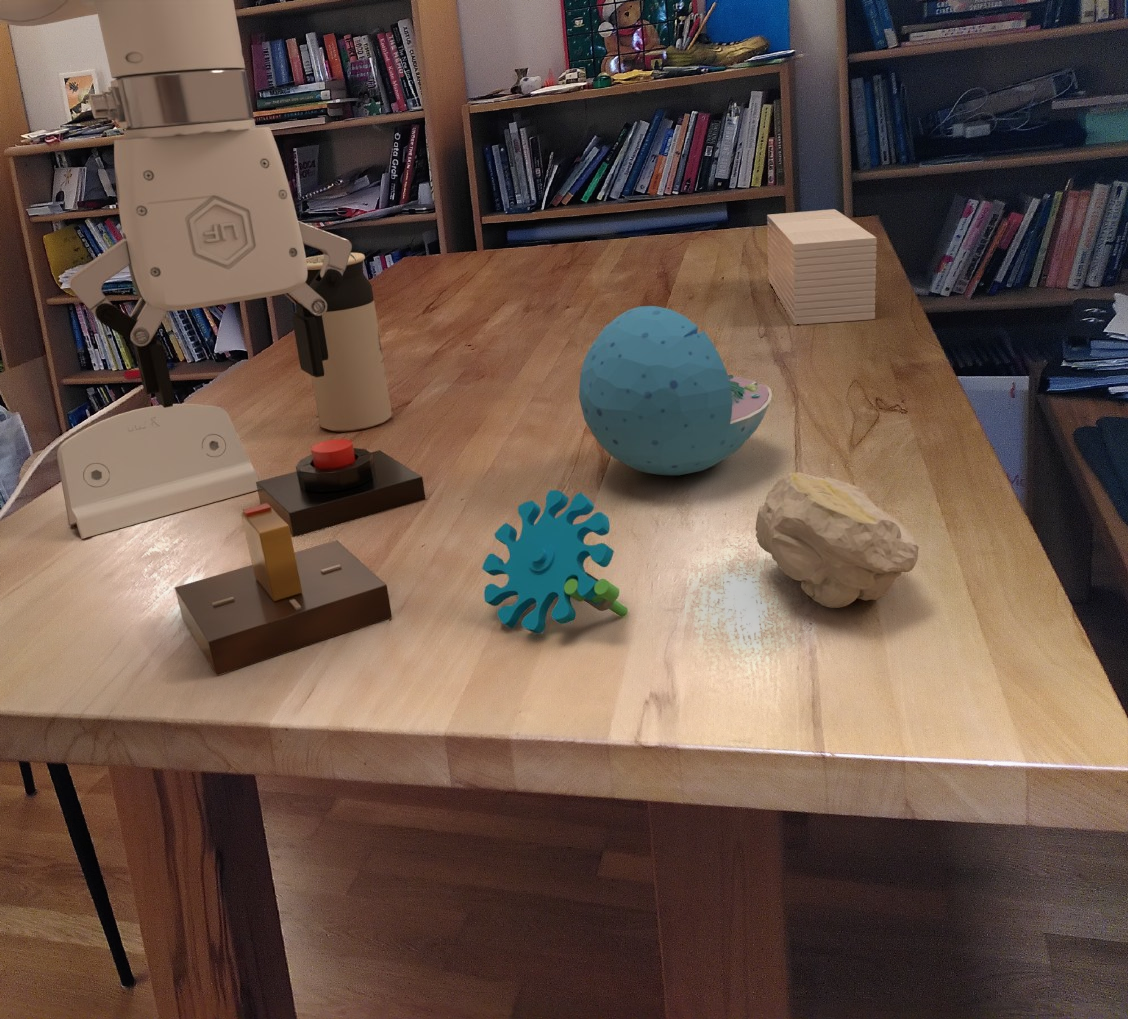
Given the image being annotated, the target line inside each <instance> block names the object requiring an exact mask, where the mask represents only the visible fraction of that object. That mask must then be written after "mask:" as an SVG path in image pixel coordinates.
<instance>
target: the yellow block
mask: <svg viewBox="0 0 1128 1019" xmlns="http://www.w3.org/2000/svg"><path fill="white" fill-rule="evenodd" d="M240 515H241V519H242V525H243V529H244V533H245V538H246V542H247V545H248V546H247V547H248V551H249V554H250V555H249V556H250V560H251V565H253V570H254V574H255V578H256V579H257V580H258V581H259V583H260V584H261V585H262V587H263V588H264V589H265V590H266V592H267V593H268V594H269V595H270V597H271V598H272V599H273V601H277V600H280V599H284V598H287V597H290V596H294V595H297V594H300V593H302V587H301V582H300V577H299V572H298V567H297V562H296V558H295V548H294V543H293V539H292V535H291V533H290V528H289V525H288V524H287V523H286V522H285V521H284V520H283V519H282V518H281V517H280V516H279V515H278V514H277V513H276V512H275V511H274V510H273V509H272V508H271V507H270V505H269V504H268V503H265V504H258V505H255V506H254V505H253V506H250V507H246V508H242V512H241V513H240Z"/></svg>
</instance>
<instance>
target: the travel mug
mask: <svg viewBox="0 0 1128 1019" xmlns="http://www.w3.org/2000/svg"><path fill="white" fill-rule="evenodd" d="M365 259H366V256H365V254H364V253H361V252H351V253H350V256H349V259H348V263H347V266H346V269H345V271H344V273H343V282H342V284H341V286H340V287H339V289H338V290H337V292H336V293H335V294H334V296H333V297H332V299H331V300H330V302H329V303H328V305H327V311H326V312H325V313H324V314H323V315H322V319H323V325H324V331H325V337H326V343H327V349H328V360H324V361H323V368H324V376H322V377H317V378H316V377H314V376H311V375H310V378H311V384H312V389H313V396H314V400H315V405H316V411H317V416H318V422H319V426H320V427H321V428H323V429H325V430H328V431H331V432H336V433H349V432H356V431H363V430H368V429H372V428H374V427H377V426H380V425H382V424H384V423H385V422H386V421H388V420H389V419H390V418H391V417H392V416H393V412H392V406H391V398H390V393H389V389H388V381H387V374H386V368H385V362H384V356H383V349H382V344H381V343H382V342H381V336H380V335H381V334H380V330H379V324H378V323H379V322H378V316H377V311H376V304H375V298H374V292H373V285H372V283H371V282H370V281H369V280H368V278H367V276H366V275H365V274H364V260H365ZM323 260H324V255H323V254H320V255H319V254H318V255H314V256H308V257H306V262H307V280H306V282H305V283H306V284H307V285H308V286H309V285H310V284H311V282H312V281H313V279H314V278H315V277H316V275H317V274H318V272H319V271H320V270H321V268H322V265H323Z"/></svg>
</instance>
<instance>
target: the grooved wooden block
mask: <svg viewBox="0 0 1128 1019" xmlns="http://www.w3.org/2000/svg"><path fill="white" fill-rule="evenodd" d="M766 220H767V222H766V224H767V225H766V226H767V228H766V230H767V234H766V236H767V280H768V279H769V281H770V283H771V285H772V286H773V289H774V290H775V292H776V294H777V296H778V298H779V299H780V301H779V302H780V304H781V303H782V304H781V305H783V306H782V308H783V309H784V308H785V309H784V311H785V310H786V311H785V312H786V315H787V316H788V315H789V316H788V317H789V319H790V321H791V320H792V321H791V322H792V324H793V325H794V326H797V324H799V325H811V324H813V325H814V324H825V323H837V322H838V323H839V322H855V321H868V320H876V305H875V304H876V293H877V291H876V287H877V283H876V282H877V276H876V275H877V268H876V267H877V261H876V260H877V251H878V250H877V249H878V248H877V247H878V246H877V243H878V237H877V236H876V235H873V234H872V233H871V232H869V231H868V230H866V229H865V228H863V227H862V226H861V225H859V224H857V223H856V222H855V221H853V220H852V219H850V218H849V217H848V216H846V215H844V214H843V213H842V212H840V211H838V210H837V209H835V208H833V209H819V210H809V211H797V212H796V211H795V212H785V213H773V214H767V215H766ZM773 289H772V290H773ZM776 294H775V295H776ZM777 296H776V297H777ZM778 298H777V299H778ZM779 299H778V300H779Z"/></svg>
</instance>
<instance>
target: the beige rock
mask: <svg viewBox="0 0 1128 1019" xmlns="http://www.w3.org/2000/svg"><path fill="white" fill-rule="evenodd" d="M757 510H758V511H757V515H756V519H755V520H756V521H755V532H756V533H755V537H756V541H757V544H758V545H759V547H760V548H761V549H763V550H764V552H766V553H769V554H770V555H771V558H772V560H774V562H775V563H776V565H777V567H778V568H780V569H781V571H782V572H783V573H784V574H785V575H786V576H788V577H789V578H790V579H792V580H795V581H801V585H800V588H801V589H802V591H803V592H804V593H805V594H806V595H807V596H809V597H810V598H811V599H812V600H813V602H816V603H818V604H820V605H821V606H824V607H827V608H831V609H837V608H843V607H847V606H849V605H851V604H852V603H854V602H855V601H856V600H863V601H869V600H878V598H881V597H882V596H885V595H886V594H887V593H888V592H889V590H890V589H891V588H892V587H893V585H894V583H895V581H896V579H897V578H898V577H900V576H901V575H902V573H909V572H911V571H913V569H914V568H915V567H916V565H917V562H918V560H919V549H920V548H919V545H918V543H917V541H916V539H915V537H913V536H912V535H911V534H910V533H909V532H908V530H907V528H906V527H905V526H904V525H903V524H902V522H900V521H899V520H898V519H896V518H894V517H893V516H892V515H890V514H889V513H887V512H886V511H885V510H884V509H881V508H880V507H878V506H877V505H875V504H874V503H873V501H871V500H870V498H869V497H868V496H867V493H866V492H864V491H863V490H862V489H861V488H860V487H859V486H858V485H854V484H850V483H849V482H846V481H841V480H839V479H835V478H833V477H829V476H825V477H820V476H816V475H815V476H814V475H811V474H809V473H802V472H800V471H798V472H797V471H796V472H787V473H785V474H784V475H782V476H781V477H780V478H779V479H778V480H777V482H776V483H775V484H774V485H773V486H772V488H771V489H770V490H769V491H768V493H767V495H766V498H765V500H764V503H763V505H761V506H759V507H758V509H757Z"/></svg>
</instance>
